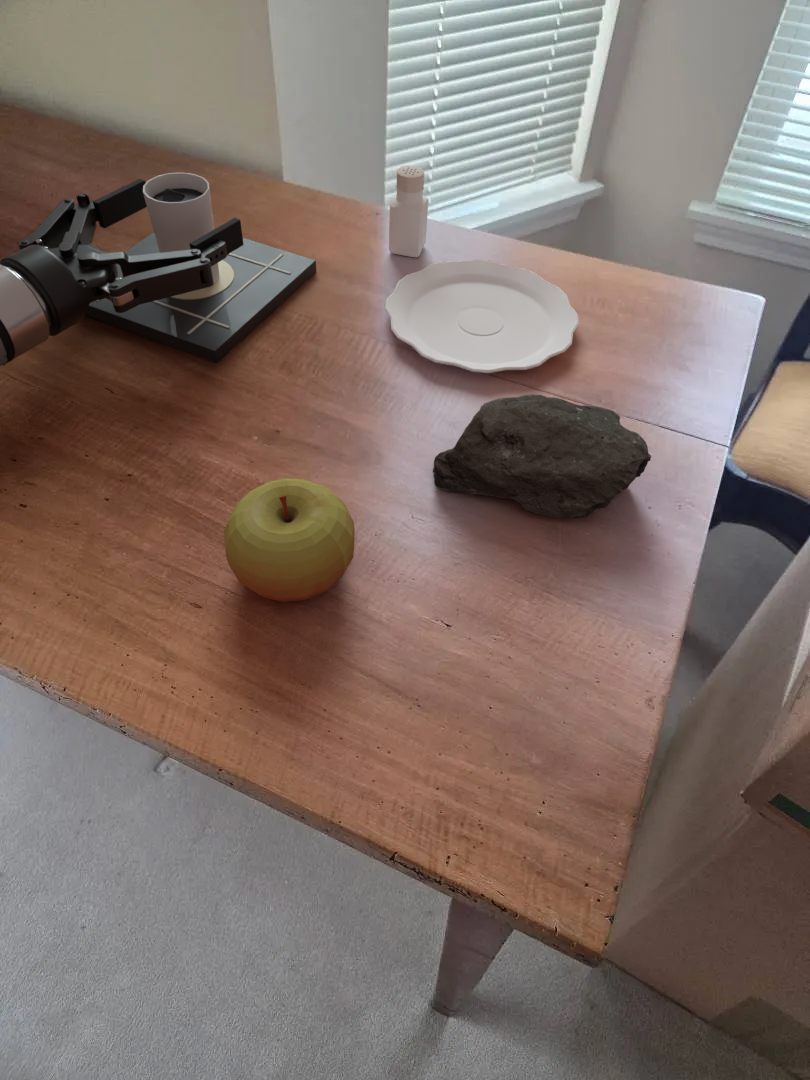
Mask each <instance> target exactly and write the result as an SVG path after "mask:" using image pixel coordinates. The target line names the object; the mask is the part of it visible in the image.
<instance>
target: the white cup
mask: <svg viewBox="0 0 810 1080" xmlns="http://www.w3.org/2000/svg"><path fill="white" fill-rule="evenodd" d="M210 190H211V189H210V182H209V181H208V180H207V179H206V178H205V177H203V176H200V175H199V174H195V173H192V172H191V173H189V172H184V171H183V172H181V171H180V172H168V173H163V174H160V175H156V176H154V177H152V178H150V179H148V180H146V181H145V185H144V186H143V194H144V198H145V201H146V205H147V207H146V208H147V211H148V215H149V219H150V222H151V226H152V231H153V232H154V234H155V237H156V241H157V245H158V248H159V252H160V253H161V252H171V251H180V250H190V245H189V244H190V243H191V242H193V241H195V240H197V239H198V238H200V237H202V236H204V235H205V234H207V233H209V232H211V231H212V230H214V229H215V224H214V216H213V207H212V200H211V199H212V197H211V191H210ZM211 270H212V276H213V282H214V284H215V283H216V282H217V280H218V279H219V267H218V263H217V264H215V265H213V266H212V267H211ZM207 288H208V287H207ZM203 289H204V288H203ZM199 290H201V289H199Z"/></svg>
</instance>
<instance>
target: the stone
mask: <svg viewBox="0 0 810 1080" xmlns="http://www.w3.org/2000/svg"><path fill="white" fill-rule="evenodd" d="M620 419H621V416H620V414H618V413H616V412H615V411H614V410H612V409H608V408H605V407H600V406H595V405H587V404H586V405H585V404H584V405H581V404H580V405H579V404H576V403H573V402H570V401H567V400H565V399H563V398H559V397H551V396H550V397H549V396H546V395H542V394H525V395H521V396H512V397H499V398H496V399H492V400H490V401H487V402H485V403H483V404H482V405H480V408H479V410H478V411H477V412H476V413H475V414H474V416H473V417H472V419H471V421H470V422H469V423H468V425H467V426H465V428H464V430H463V432H462V433H461V435H460V437H459V438H458V440H457V442H456V443H455V445H454V446H453V447H452V448H450V449H447V450H444V451H441V452H439V453H438V454H437V455H436V456H435V457H434V460H433V468H432V473H433V478H434V479H433V481H434V483H433V484H434V486H435V487H437V488H439V489H440V490H445V491H449V492H451V493H459V494H465V495H470V494H471V495H478V496H483V497H485V496H492V497H495V498H501V499H502V498H503V499H504V498H506V499H512V500H514V501H515V502H517V503H519V504H520V505H521V506H522V507H523V508H524V509H525V510H527V511H528V512H531V513H535V514H538V515H542V516H548V517H553V518H567V517H570V518H587V517H589V516H590V515H591V514H593V513H594V512H596V511H598V510H603V509H607V507H608V506H609V504H610V503H611V501H612V500H613V499H614V498H615V497H616V496H617V495H618V494H620V493H621V491H622V490H623V491H624V490H627V489H628V488H629V486H630V485H631V484H632V483H633V482H634V481H635V480H636V478H639V477H641V475H642V473H644V472H645V470H646V467H647V466H648V463H649V462H650V461H651V459H652V455H651V454H650V452H649V447H648V445H647V442H646V440H644V438H643V437H642V436H641V434H640V433H638V432H636V431H633V430H630V429H628V428H626V427H625V426H623V425H622V424H621V421H620Z"/></svg>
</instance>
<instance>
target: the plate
mask: <svg viewBox="0 0 810 1080" xmlns="http://www.w3.org/2000/svg"><path fill="white" fill-rule="evenodd" d="M384 306H385V307H384V310H385V311H386V314H387V315H388V317H389V319H390V329H391V330H390V331H391V332H392V333H393V334H394V335H395V337H396V338H397V339H398V340H400V341H401V342H403V343H405V344H407V345H409V346H410V347H412V348H413V349H414V351H416V352H417V353H418V354H419V355H420V356H421V357H422V358H425V359H426V360H429V361H432V362H433V363H434V364H435V363H436V364H441V365H447V366H454V367H456V368H460V369H463V370H466V371H469V372H471V373H480V374H481V373H482V374H492V373H498V372H502V371H503V372H504V371H527V370H530V369H534V368H537V367H540V366H541V365H543V364H544V363H545V362H547V361H548V360H550V358H553V357H556V356H558V355H560V354H564V353H565V352H566V351H567V350H568V349H569V348H570V347H571V346H572V344H573V339H574V338H573V337H574V333H575V331H576V330H577V328H578V327H579V325H580V320H579V314H578V312H577V311H576V310H575V308H574V307H573V306H572V305H571V303H570V299H569V297H568V294H567V293H566V292H564V291H563V289H561V287H559V286H558V285H555V284H553V283H551V282H549V281H547V280H545V279H543V278H542V276H540V275H539V274H537V273H536V272H534V271H533V270H532V271H531V270H529V269H526V268H524V267H520V266H515V265H507V264H503V263H500V262H496V261H494V260H490V259H489V260H488V259H487V260H486V259H470V260H461V261H447V260H445V261H440V262H436V263H431V264H429V265H427V266H426V267H425V268H422V269H421V270H418V271H415V272H412V273H409V274H406V275H405V276H403V277H402V278H401V279H399V280H397V283H396V286H395V288H394V291H393V292H392V293H390V294H389V296H387V298H386V300H385V305H384Z"/></svg>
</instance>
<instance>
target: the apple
mask: <svg viewBox="0 0 810 1080" xmlns="http://www.w3.org/2000/svg"><path fill="white" fill-rule="evenodd" d="M355 534H356V530H355V523H354V519H353V517H352V515H351V513H350V511H349V509H348V507H347V505H346V504H345V502H344V501H343V500H342V499H341V498H340V497H339V496H338V495H337V494H335V493H334V492H333V491H331V490H330V489H329V488H328V487H326V486H325V485H322V484H318V483H316V482H313V481H310V480H307V479H302V478H282V479H281V478H280V479H277V480H271V481H267V482H266V483H264V484H262V485H261V484H260V485H259V486H257V487H255V488H253V489H251V490H250V491H249V492H248V493H247V494H245V495H244V497H242V499H240V500H239V501H238V502H237V503H236V504H235V505H234V507H233V509H232V510H231V513H230V516H229V518H228V520H227V522H226V524H225V526H224V529H223V537H224V549H225V557H226V561H227V564H228V566H229V568H230V570H231V571H232V573H233V575H234V576H235V577H236V579H237V580H238V582H239V583H240V584H241V585H243V586H245V587H246V588H248V589H249V590H251V591H252V592H254V593H255V594H257V595H259V596H261V597H262V598H264V599H268V600H272V601H273V600H274V601H278V602H283V603H286V602H288V603H289V602H298V601H299V602H300V601H306V600H309V599H311V598H314V597H316V596H318V595H321V594H324V593H325V592H326V591H328V590H329V589H330V588H331V587H332V586H333V585H335V584H336V583H337V582H338V581H339V580H341V578H342V577H343V576H344V575H345V573H346V571H347V569H348V568H349V566H350V564H351V563H352V561H353V558H354V552H355V536H356V535H355Z"/></svg>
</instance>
